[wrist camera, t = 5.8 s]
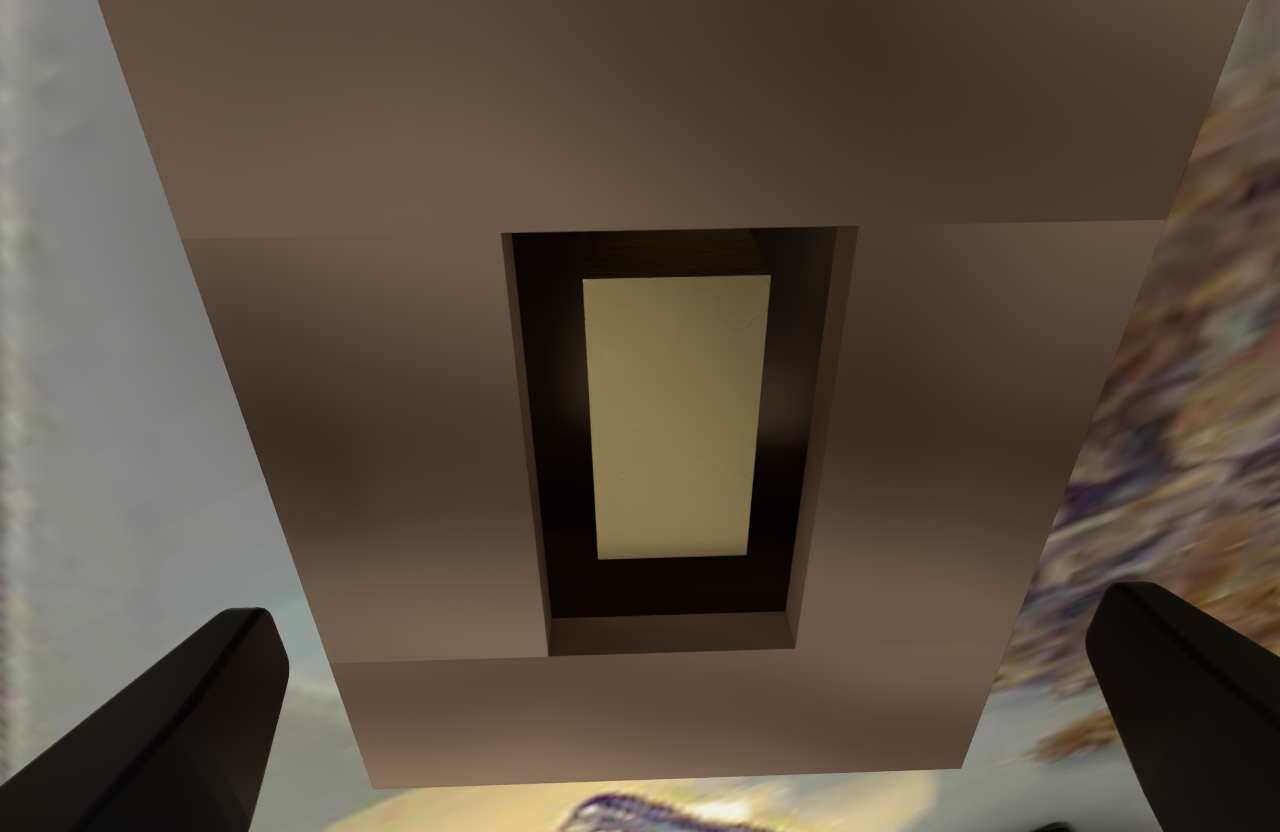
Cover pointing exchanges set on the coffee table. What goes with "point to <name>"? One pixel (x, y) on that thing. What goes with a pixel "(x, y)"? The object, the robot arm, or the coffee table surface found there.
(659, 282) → the wooden plank piece
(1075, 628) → the coffee table surface
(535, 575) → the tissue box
